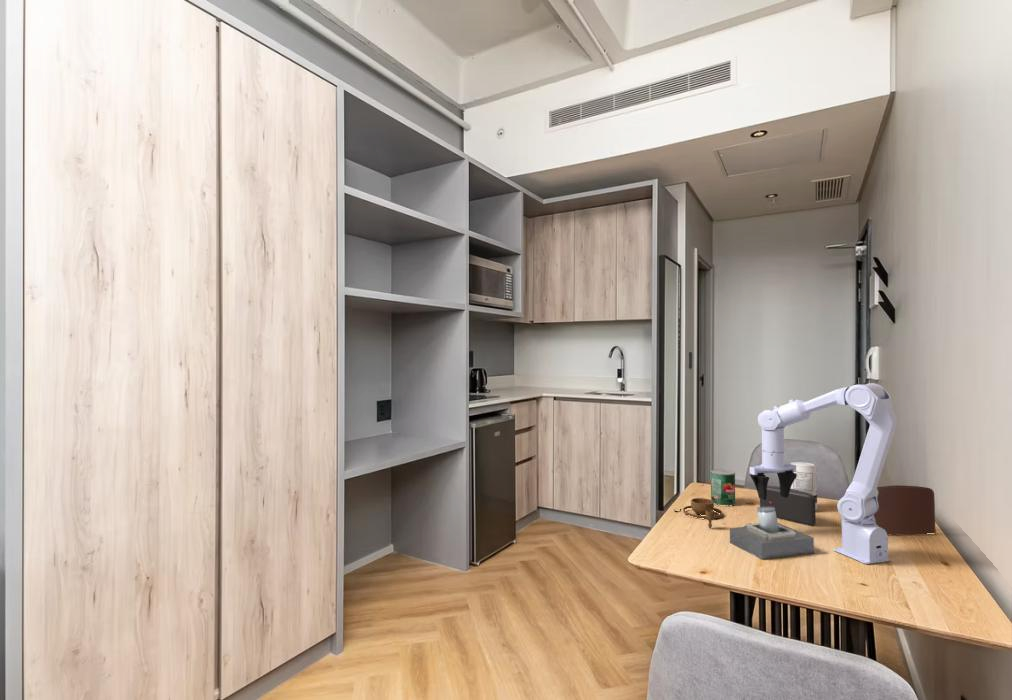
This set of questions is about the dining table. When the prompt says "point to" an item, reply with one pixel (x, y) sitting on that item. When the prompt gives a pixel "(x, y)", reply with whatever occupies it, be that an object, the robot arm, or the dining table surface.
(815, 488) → the supplement can
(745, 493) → the dining table surface
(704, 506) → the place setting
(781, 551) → the grey square pedestal
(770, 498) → the dark grey slab
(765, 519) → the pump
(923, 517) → the letter holder
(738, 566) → the dining table surface
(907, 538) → the dining table surface
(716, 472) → the canned tomato
